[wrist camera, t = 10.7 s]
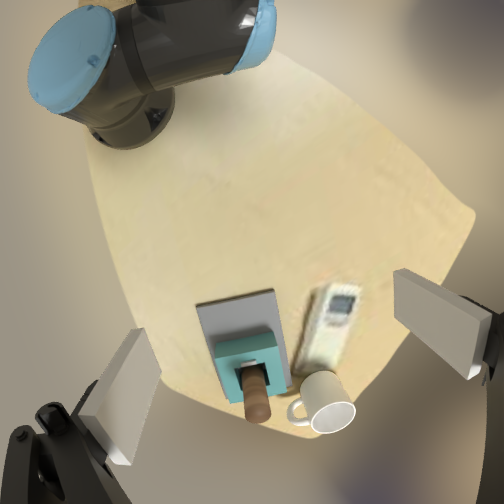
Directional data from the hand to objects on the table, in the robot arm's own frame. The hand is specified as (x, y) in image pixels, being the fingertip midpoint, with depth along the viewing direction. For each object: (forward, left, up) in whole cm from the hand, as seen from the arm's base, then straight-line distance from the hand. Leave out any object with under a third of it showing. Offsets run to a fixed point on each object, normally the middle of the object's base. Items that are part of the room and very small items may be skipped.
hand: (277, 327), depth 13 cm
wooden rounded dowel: (+22, -4, -31) cm, 38 cm away
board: (+20, -4, -32) cm, 38 cm away
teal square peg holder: (+22, -4, -31) cm, 38 cm away
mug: (+33, +6, -32) cm, 46 cm away
